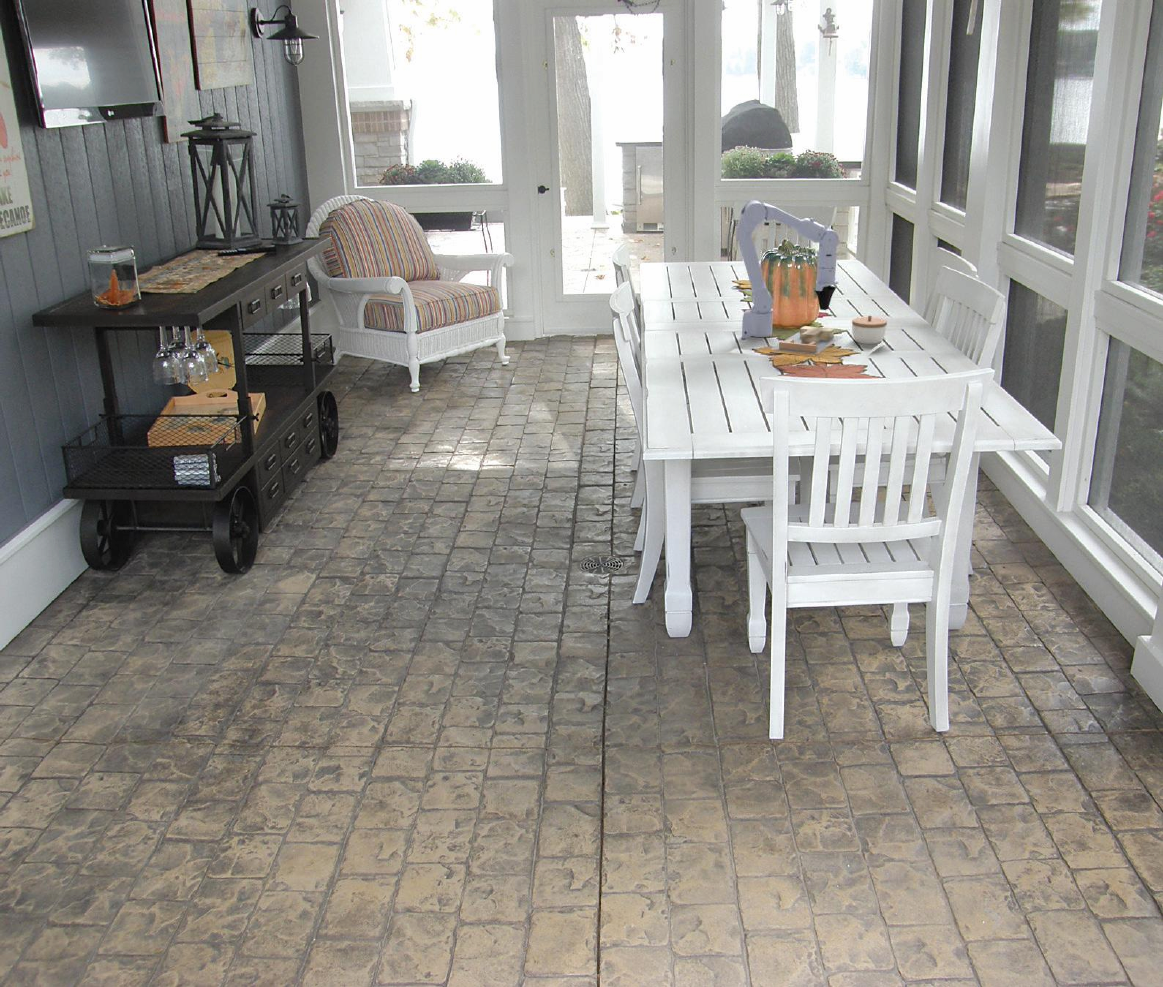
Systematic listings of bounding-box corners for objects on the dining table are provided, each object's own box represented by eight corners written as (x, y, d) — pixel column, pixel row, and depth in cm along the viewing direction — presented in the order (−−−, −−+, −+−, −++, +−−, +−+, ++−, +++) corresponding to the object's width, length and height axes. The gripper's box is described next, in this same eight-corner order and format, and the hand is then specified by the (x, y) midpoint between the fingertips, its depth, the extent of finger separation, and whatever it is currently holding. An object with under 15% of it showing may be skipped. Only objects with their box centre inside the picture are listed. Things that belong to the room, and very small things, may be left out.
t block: (792, 342, 355) (792, 333, 354) (803, 335, 364) (804, 326, 363) (822, 345, 350) (823, 336, 349) (833, 338, 359) (834, 329, 358)
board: (769, 353, 347) (770, 343, 346) (797, 335, 368) (798, 326, 367) (816, 358, 340) (816, 348, 339) (842, 340, 361) (842, 330, 360)
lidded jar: (871, 350, 348) (873, 320, 345) (843, 344, 356) (845, 315, 353) (891, 344, 354) (894, 315, 351) (864, 339, 362) (866, 310, 359)
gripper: (831, 272, 349) (829, 314, 354) (845, 264, 361) (842, 306, 366) (810, 270, 352) (807, 312, 357) (824, 263, 364) (822, 304, 369)
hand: (824, 309), depth 362 cm, fingers closed
